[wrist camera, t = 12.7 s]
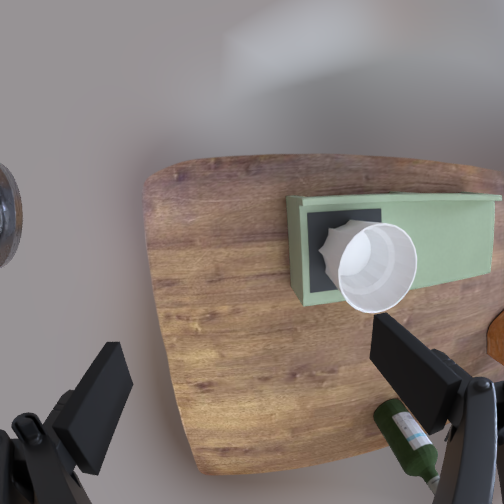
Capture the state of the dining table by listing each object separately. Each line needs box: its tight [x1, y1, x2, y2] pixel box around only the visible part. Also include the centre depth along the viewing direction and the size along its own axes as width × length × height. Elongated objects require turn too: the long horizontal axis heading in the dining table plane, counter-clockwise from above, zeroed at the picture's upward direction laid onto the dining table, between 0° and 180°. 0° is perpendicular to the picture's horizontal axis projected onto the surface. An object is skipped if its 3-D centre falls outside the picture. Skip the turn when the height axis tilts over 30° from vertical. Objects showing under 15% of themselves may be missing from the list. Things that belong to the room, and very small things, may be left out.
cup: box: [318, 220, 417, 313], centre depth 35 cm, size 10×10×10 cm
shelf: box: [286, 192, 502, 306], centre depth 44 cm, size 39×15×11 cm, turn 95°
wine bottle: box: [374, 399, 440, 495], centre depth 44 cm, size 8×8×30 cm
